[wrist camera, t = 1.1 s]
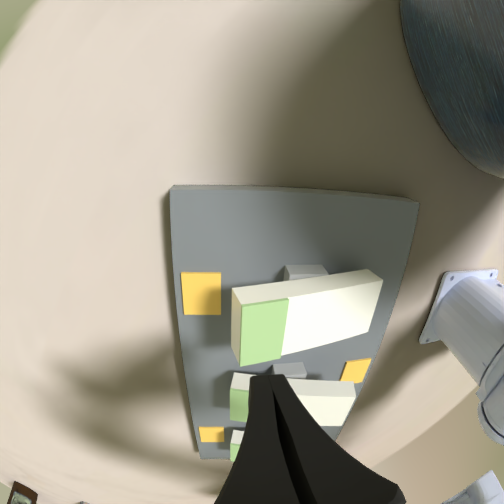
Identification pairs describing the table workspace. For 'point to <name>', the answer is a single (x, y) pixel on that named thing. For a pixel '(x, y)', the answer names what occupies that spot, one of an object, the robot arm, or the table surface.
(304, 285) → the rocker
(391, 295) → the switch unit
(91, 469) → the table surface
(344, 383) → the block
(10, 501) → the olive oil
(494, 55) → the planter
